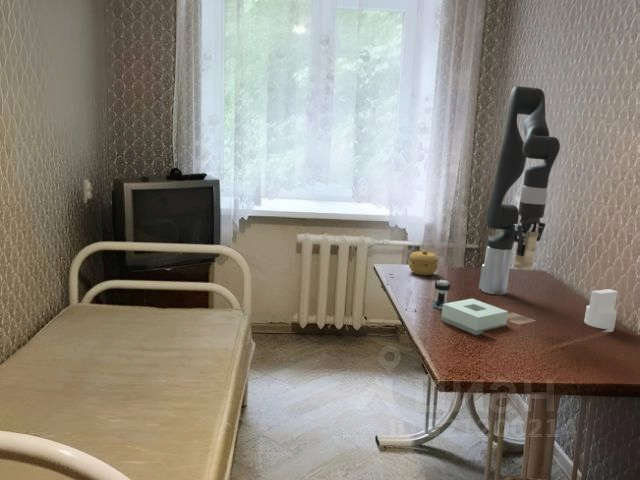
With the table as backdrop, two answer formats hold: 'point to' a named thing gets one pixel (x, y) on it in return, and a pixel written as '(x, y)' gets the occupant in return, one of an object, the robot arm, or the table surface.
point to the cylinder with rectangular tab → (602, 310)
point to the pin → (527, 253)
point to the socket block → (473, 316)
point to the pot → (423, 262)
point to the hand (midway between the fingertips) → (524, 254)
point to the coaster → (518, 318)
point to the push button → (441, 293)
